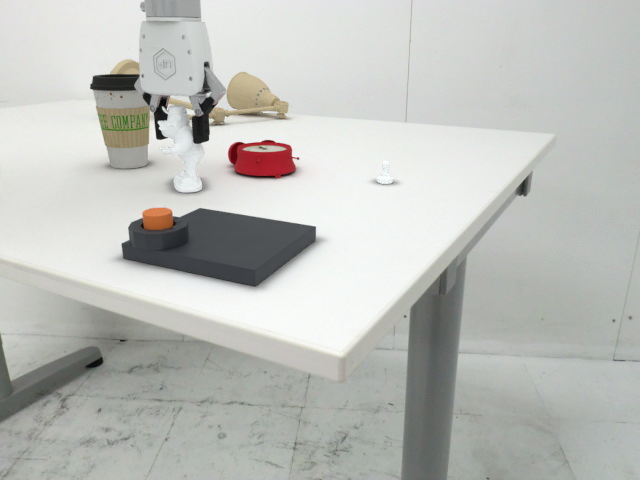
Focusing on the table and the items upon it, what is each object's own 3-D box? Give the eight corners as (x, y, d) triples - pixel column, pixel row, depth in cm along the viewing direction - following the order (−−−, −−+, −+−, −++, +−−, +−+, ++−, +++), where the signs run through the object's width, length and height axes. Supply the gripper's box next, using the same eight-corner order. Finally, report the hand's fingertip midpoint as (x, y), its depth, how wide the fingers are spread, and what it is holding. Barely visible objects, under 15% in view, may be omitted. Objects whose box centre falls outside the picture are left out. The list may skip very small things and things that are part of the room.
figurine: (161, 179, 91) (153, 102, 86) (203, 176, 92) (197, 101, 88) (164, 194, 82) (155, 110, 78) (209, 190, 84) (203, 108, 80)
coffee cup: (90, 170, 95) (78, 77, 90) (112, 157, 104) (102, 73, 99) (148, 171, 95) (139, 78, 90) (165, 159, 104) (158, 74, 99)
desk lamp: (97, 65, 137) (242, 104, 126) (181, 43, 166) (305, 74, 155) (101, 124, 145) (238, 165, 134) (181, 93, 173) (299, 126, 162)
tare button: (137, 229, 59) (136, 213, 58) (156, 221, 61) (155, 205, 61) (161, 234, 58) (159, 217, 57) (179, 225, 60) (178, 209, 60)
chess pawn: (389, 185, 89) (390, 163, 88) (374, 182, 90) (375, 161, 89) (395, 181, 92) (396, 160, 90) (380, 179, 93) (381, 158, 91)
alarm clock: (249, 159, 88) (218, 123, 99) (246, 195, 91) (218, 156, 102) (309, 154, 93) (273, 120, 104) (305, 188, 96) (271, 152, 107)
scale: (119, 259, 59) (116, 228, 58) (200, 220, 72) (199, 193, 70) (253, 288, 53) (251, 253, 52) (316, 240, 66) (316, 211, 64)
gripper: (105, 9, 79) (120, 139, 85) (210, 9, 72) (217, 150, 78) (142, 11, 85) (153, 131, 91) (241, 11, 79) (245, 141, 85)
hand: (182, 139), depth 85 cm, fingers closed on figurine, 6 cm apart
